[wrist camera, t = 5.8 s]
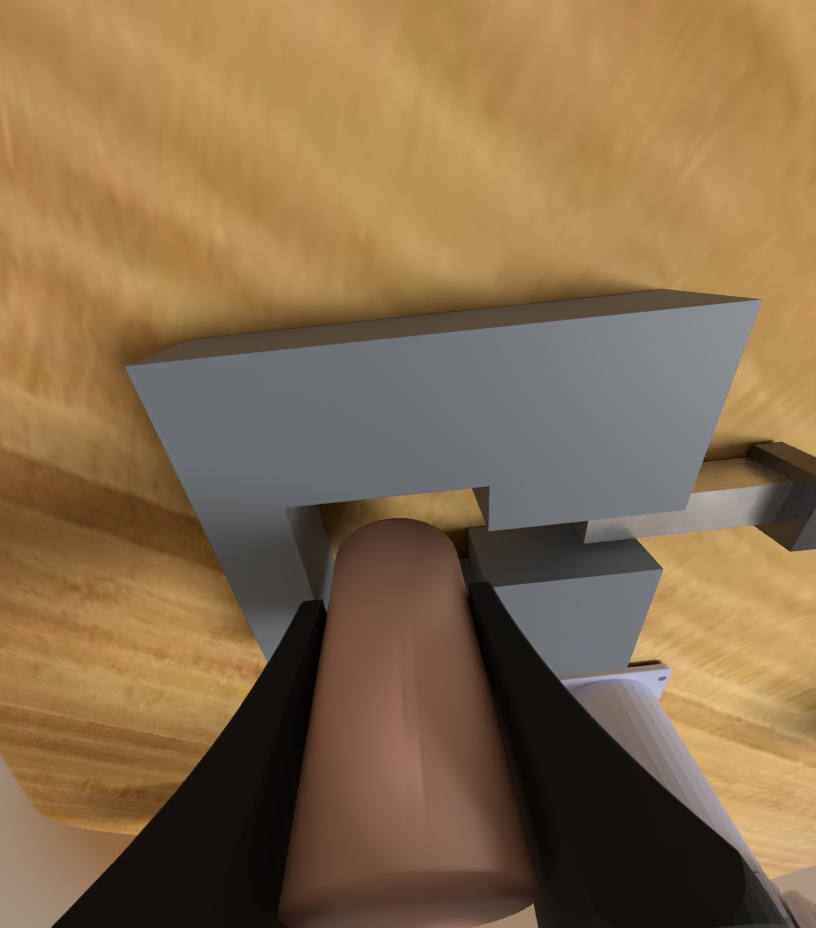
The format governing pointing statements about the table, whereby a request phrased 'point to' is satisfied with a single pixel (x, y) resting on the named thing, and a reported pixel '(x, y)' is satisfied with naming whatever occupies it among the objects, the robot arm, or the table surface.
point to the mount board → (457, 447)
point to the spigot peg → (403, 753)
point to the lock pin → (734, 501)
